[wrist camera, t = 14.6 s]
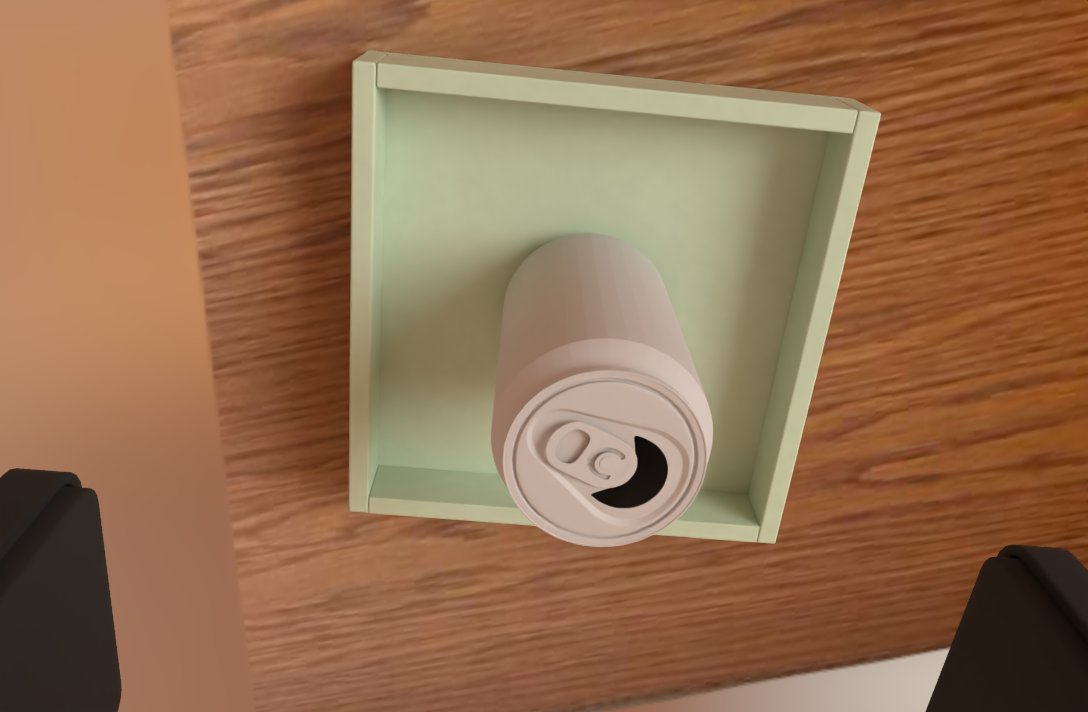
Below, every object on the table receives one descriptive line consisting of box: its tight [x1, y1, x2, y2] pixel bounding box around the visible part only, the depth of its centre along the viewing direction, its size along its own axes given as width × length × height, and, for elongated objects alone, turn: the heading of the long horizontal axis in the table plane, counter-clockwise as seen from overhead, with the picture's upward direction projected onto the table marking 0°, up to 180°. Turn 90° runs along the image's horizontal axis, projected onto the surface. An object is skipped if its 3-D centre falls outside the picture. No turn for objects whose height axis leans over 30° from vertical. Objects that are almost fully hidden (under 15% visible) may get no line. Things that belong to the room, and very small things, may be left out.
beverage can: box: [491, 233, 713, 547], centre depth 30 cm, size 6×6×12 cm
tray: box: [349, 50, 881, 543], centre depth 35 cm, size 18×18×3 cm
